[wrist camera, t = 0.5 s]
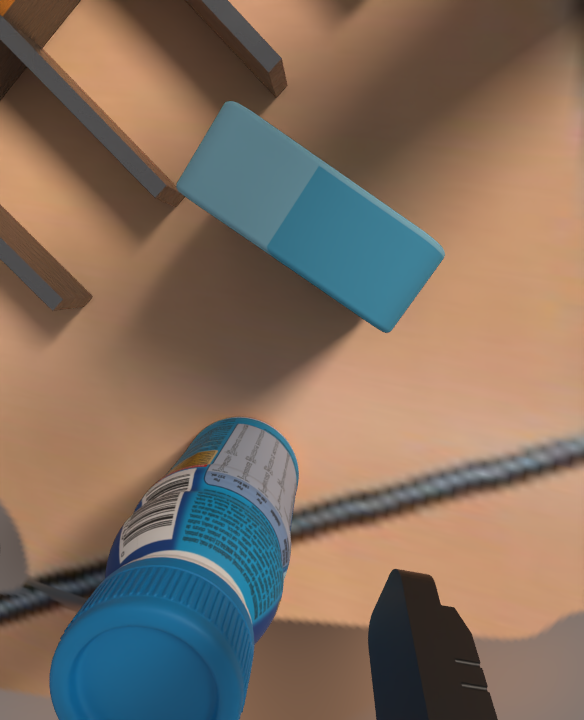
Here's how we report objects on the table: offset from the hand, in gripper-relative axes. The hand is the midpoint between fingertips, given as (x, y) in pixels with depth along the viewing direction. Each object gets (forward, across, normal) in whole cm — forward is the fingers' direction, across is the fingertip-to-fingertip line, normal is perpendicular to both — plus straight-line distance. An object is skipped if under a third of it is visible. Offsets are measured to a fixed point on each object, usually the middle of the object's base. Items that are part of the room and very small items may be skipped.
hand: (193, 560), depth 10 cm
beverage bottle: (+21, -1, +16) cm, 27 cm away
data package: (+26, -3, 0) cm, 27 cm away
